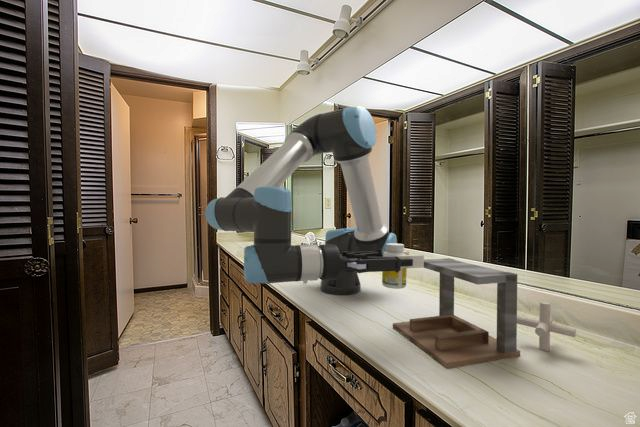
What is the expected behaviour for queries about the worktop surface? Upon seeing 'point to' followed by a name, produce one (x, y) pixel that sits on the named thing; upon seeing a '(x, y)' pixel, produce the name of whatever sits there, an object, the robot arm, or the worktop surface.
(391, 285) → the supplement bottle
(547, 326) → the pipe connector
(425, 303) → the worktop surface
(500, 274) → the keeper holder
